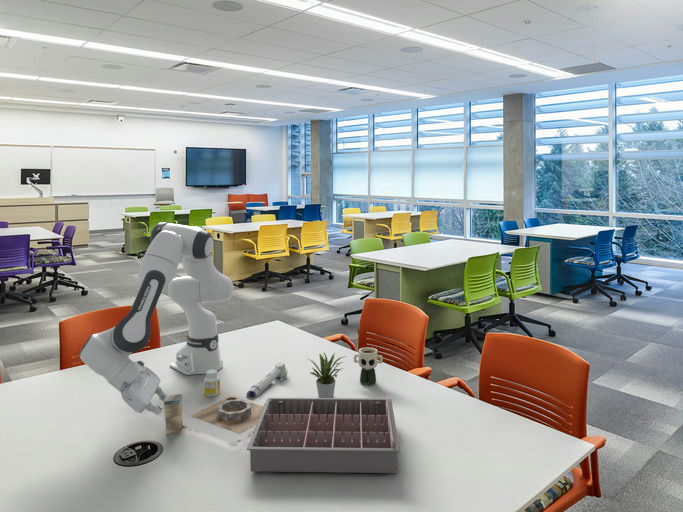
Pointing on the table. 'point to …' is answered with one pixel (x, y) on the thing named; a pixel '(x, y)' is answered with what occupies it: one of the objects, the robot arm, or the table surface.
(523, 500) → the table surface
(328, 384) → the house plant
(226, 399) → the oak ring
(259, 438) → the organizer tray
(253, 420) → the collar board
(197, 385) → the table surface
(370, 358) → the character mug
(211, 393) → the supplement bottle
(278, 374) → the electric toothbrush
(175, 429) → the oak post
